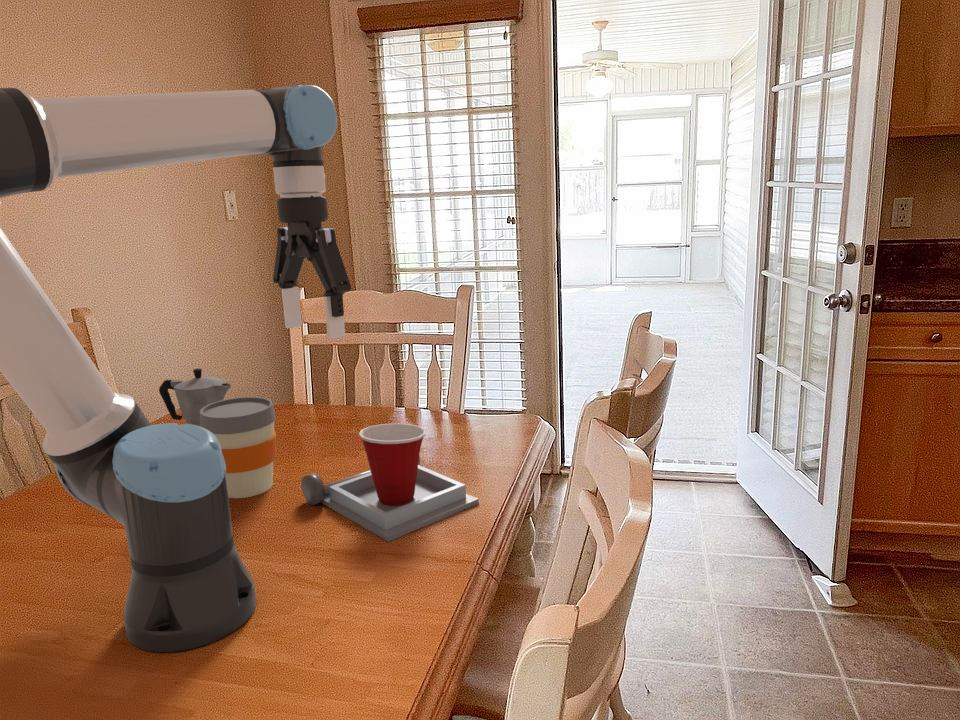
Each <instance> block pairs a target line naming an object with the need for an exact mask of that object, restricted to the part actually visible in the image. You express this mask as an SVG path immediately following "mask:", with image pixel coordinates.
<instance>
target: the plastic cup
mask: <svg viewBox="0 0 960 720" xmlns="http://www.w3.org/2000/svg"><path fill="white" fill-rule="evenodd" d="M426 432H427V430H426V428H424V427H422V426H419V425H415V424H408V423H383V424H376V425H369V426H367V427H364V428H362V429H360V431H359V433H358V435H359V437H360V438H361V441H362V443H363V447H364V451H365V453H366V457H367V461H368V464H369V465H368V466H369V470H371V474H372V478H373V482H374V484H375V488H376V492H377V496H378V498H379V501H380V502H381V503H382V504H384V505H388V506H399V505H404V504H407V503H409V502H411V501H412V500H413V497H414V493H415V483H416V478H417V470H418V461H419V456H420V452H421V448H422V444H423V440H424V437H425V436H426Z"/></svg>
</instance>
